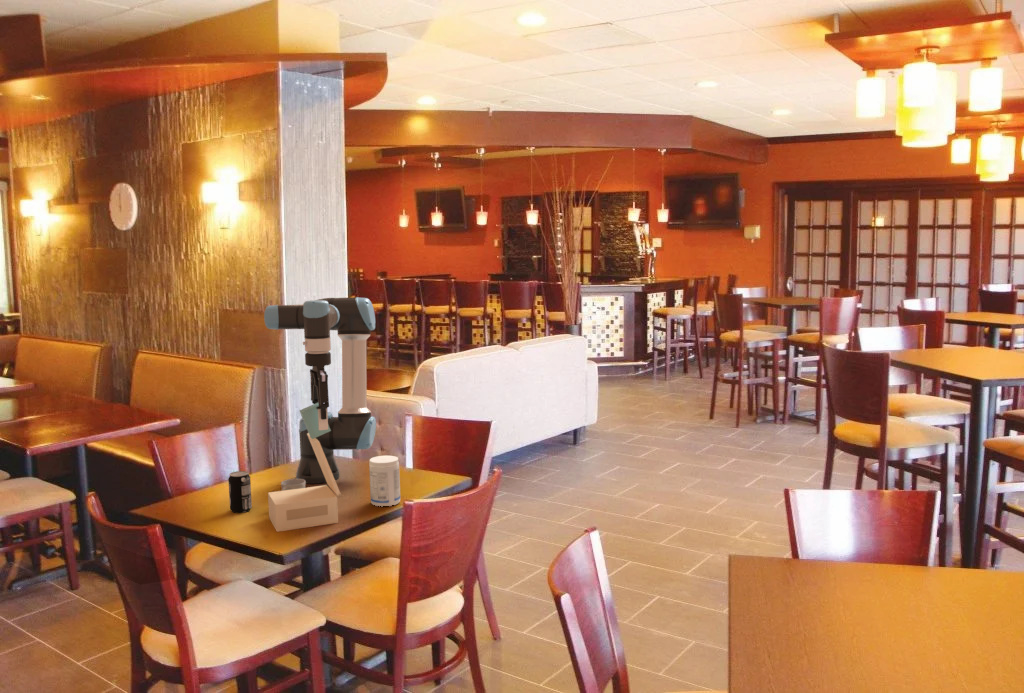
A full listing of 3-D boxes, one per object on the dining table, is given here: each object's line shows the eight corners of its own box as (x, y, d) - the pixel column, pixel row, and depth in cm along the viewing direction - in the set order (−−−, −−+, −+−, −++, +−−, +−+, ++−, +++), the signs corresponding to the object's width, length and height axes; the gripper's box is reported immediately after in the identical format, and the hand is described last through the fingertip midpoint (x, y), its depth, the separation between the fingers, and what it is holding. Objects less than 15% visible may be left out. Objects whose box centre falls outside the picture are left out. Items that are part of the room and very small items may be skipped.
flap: (296, 407, 258) (314, 399, 261) (328, 485, 265) (345, 477, 267) (304, 415, 246) (324, 407, 248) (338, 497, 253) (356, 488, 255)
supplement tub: (390, 496, 279) (389, 453, 277) (406, 503, 272) (405, 459, 270) (364, 502, 273) (363, 458, 271) (380, 509, 266) (378, 464, 264)
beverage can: (229, 508, 268) (227, 471, 267) (251, 506, 271) (249, 469, 269) (230, 514, 262) (228, 477, 261) (252, 512, 265) (250, 474, 263)
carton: (269, 517, 259) (268, 492, 258) (327, 509, 266) (326, 485, 265) (276, 531, 246) (275, 505, 245) (338, 522, 253) (337, 496, 252)
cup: (311, 505, 270) (310, 479, 269) (291, 514, 261) (290, 488, 260) (292, 503, 273) (291, 477, 272) (272, 512, 264) (270, 485, 263)
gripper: (298, 349, 260) (301, 422, 263) (311, 356, 242) (315, 435, 245) (323, 347, 263) (326, 420, 266) (337, 354, 245) (340, 432, 248)
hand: (320, 427), depth 255 cm, fingers open, 7 cm apart
